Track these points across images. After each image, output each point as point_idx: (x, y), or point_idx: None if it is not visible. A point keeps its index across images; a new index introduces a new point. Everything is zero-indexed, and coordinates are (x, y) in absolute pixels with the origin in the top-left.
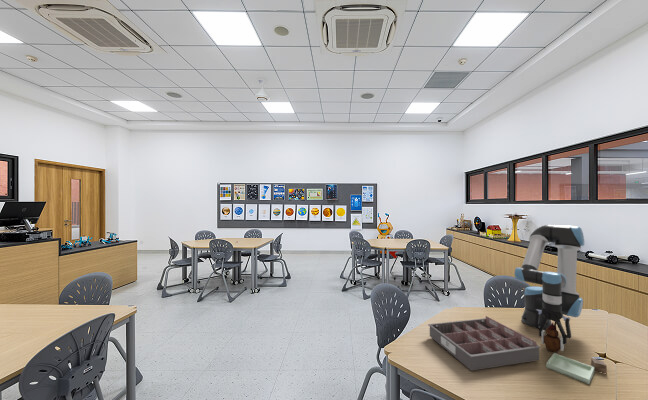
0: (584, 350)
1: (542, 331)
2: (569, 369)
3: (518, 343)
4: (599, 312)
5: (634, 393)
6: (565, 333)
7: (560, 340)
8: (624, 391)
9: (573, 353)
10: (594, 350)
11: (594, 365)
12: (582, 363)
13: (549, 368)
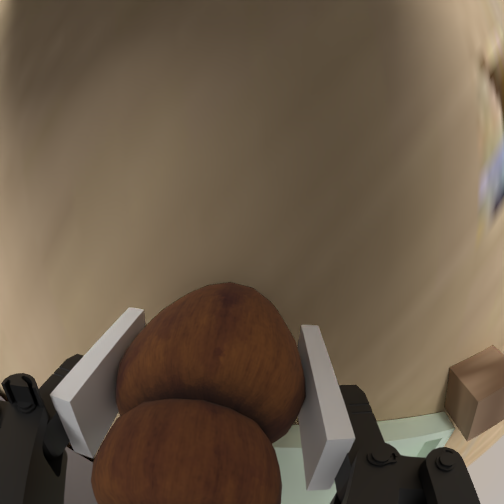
0: (437, 82)
1: (77, 444)
2: (331, 492)
3: (85, 491)
4: None
5: (500, 435)
6: (396, 496)
7: (299, 409)
8: (478, 452)
9: (380, 235)
10: (472, 38)
11: (460, 429)
12: (408, 443)
13: None
